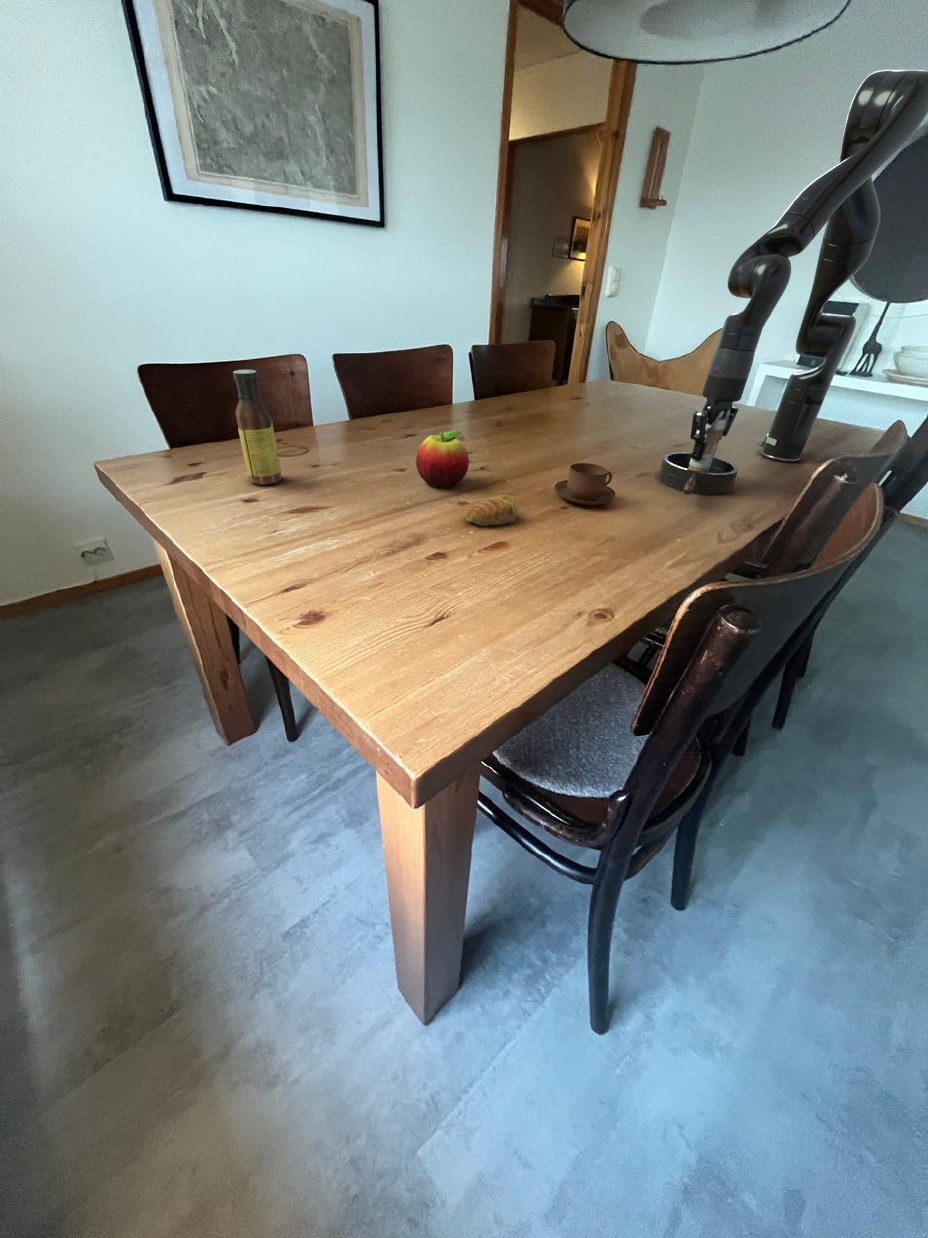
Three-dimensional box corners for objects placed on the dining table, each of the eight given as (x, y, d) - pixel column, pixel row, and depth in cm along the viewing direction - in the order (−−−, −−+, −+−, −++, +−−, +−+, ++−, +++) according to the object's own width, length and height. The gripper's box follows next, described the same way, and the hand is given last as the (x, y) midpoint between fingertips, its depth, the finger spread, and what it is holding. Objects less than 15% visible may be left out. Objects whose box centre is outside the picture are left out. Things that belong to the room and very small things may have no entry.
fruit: (404, 481, 108) (404, 431, 102) (441, 470, 115) (443, 423, 109) (441, 496, 102) (443, 444, 96) (478, 484, 109) (482, 435, 103)
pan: (653, 468, 125) (658, 449, 123) (720, 474, 124) (726, 455, 122) (665, 490, 112) (671, 470, 110) (740, 498, 111) (747, 477, 109)
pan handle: (688, 479, 111) (691, 471, 110) (697, 481, 111) (700, 473, 110) (681, 494, 103) (683, 485, 102) (690, 496, 103) (693, 487, 102)
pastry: (481, 532, 89) (483, 510, 87) (457, 518, 94) (458, 498, 91) (521, 520, 94) (523, 500, 92) (496, 508, 99) (497, 488, 97)
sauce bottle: (288, 479, 105) (274, 371, 94) (266, 488, 100) (248, 375, 89) (263, 473, 107) (246, 366, 96) (240, 482, 102) (219, 370, 91)
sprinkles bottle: (681, 479, 118) (699, 417, 110) (688, 475, 121) (707, 414, 113) (701, 485, 115) (722, 421, 108) (708, 480, 118) (728, 418, 111)
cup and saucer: (575, 484, 112) (581, 455, 109) (624, 501, 106) (632, 471, 102) (541, 496, 105) (545, 466, 102) (591, 515, 98) (597, 483, 95)
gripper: (727, 378, 99) (699, 467, 109) (763, 374, 107) (734, 458, 117) (692, 372, 104) (668, 457, 114) (729, 368, 112) (704, 449, 121)
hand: (702, 457), depth 115 cm, fingers closed on sprinkles bottle, 4 cm apart
